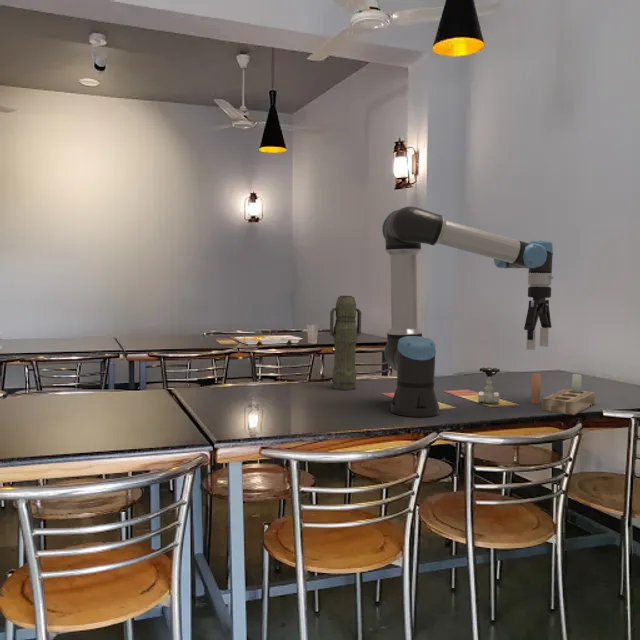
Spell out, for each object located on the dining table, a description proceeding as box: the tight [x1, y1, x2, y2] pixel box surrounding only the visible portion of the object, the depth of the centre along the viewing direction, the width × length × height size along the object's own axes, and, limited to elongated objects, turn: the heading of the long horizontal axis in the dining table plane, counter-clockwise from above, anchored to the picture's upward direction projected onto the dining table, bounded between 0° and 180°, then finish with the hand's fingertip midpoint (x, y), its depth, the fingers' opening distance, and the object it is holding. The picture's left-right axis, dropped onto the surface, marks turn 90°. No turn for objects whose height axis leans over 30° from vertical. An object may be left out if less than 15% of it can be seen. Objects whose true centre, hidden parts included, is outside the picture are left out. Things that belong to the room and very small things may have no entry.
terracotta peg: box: [530, 373, 542, 405], centre depth 219 cm, size 3×3×10 cm
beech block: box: [541, 388, 596, 416], centre depth 214 cm, size 10×24×4 cm, turn 143°
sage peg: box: [571, 373, 583, 394], centre depth 220 cm, size 3×3×10 cm
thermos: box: [329, 295, 362, 391], centre depth 240 cm, size 9×12×35 cm
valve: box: [478, 367, 501, 404], centre depth 217 cm, size 7×7×12 cm
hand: (537, 348), depth 218 cm, fingers open, 13 cm apart
